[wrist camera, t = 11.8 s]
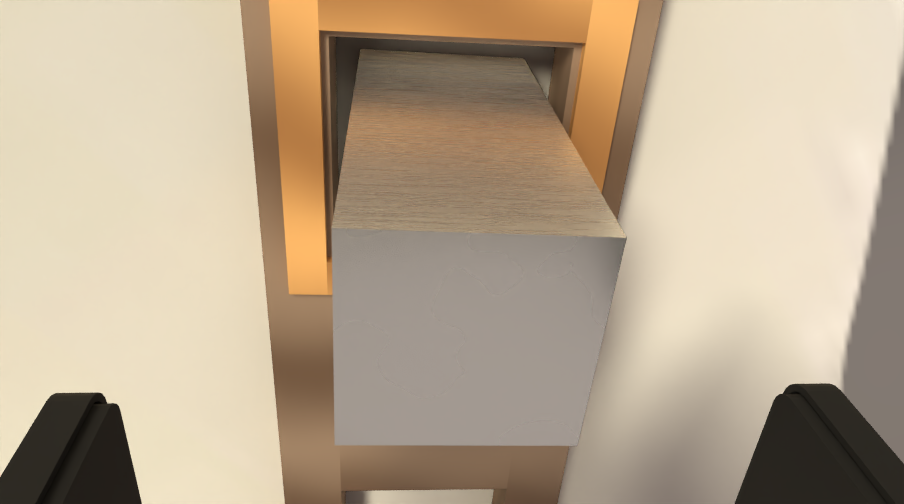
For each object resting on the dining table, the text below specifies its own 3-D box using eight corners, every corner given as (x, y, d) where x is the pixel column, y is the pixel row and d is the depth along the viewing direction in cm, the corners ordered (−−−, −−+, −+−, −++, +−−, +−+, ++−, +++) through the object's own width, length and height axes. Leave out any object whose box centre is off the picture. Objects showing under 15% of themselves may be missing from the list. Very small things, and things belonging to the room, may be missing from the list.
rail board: (518, 612, 33) (526, 661, 31) (304, 618, 32) (298, 669, 30) (670, -183, 16) (707, -185, 14) (239, -217, 16) (217, -225, 14)
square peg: (505, 203, 22) (577, 446, 13) (359, 197, 21) (334, 444, 13) (524, 58, 19) (626, 237, 11) (360, 48, 19) (331, 228, 10)
